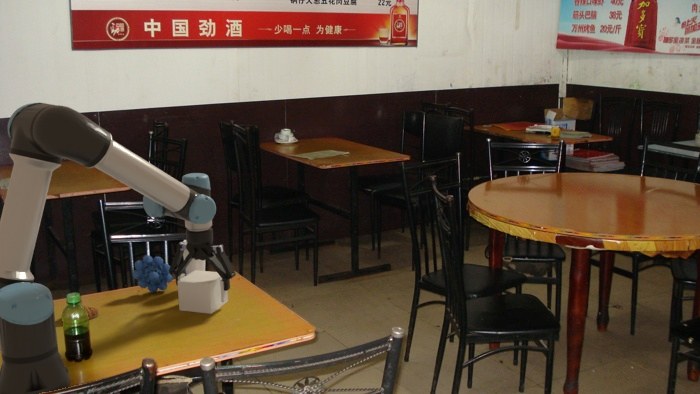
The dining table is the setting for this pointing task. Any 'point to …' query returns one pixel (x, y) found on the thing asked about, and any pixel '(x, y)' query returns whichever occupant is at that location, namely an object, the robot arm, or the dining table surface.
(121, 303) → the dining table surface
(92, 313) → the pastry
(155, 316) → the dining table surface
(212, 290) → the matte cream cube
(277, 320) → the dining table surface
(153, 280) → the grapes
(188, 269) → the drinking glass
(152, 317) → the dining table surface
